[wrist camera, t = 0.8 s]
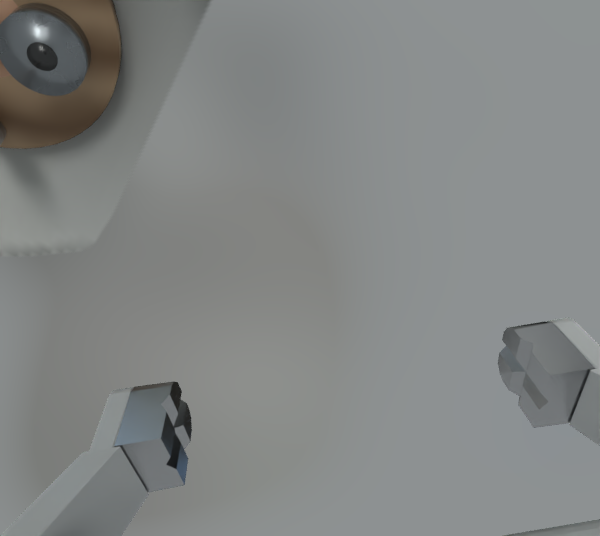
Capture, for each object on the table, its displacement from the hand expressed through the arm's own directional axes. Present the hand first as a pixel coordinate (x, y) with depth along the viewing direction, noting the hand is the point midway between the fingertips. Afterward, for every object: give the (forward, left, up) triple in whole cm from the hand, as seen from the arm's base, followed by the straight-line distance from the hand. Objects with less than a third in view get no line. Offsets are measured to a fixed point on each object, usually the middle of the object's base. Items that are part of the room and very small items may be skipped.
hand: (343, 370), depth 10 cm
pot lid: (+9, -15, -41) cm, 45 cm away
